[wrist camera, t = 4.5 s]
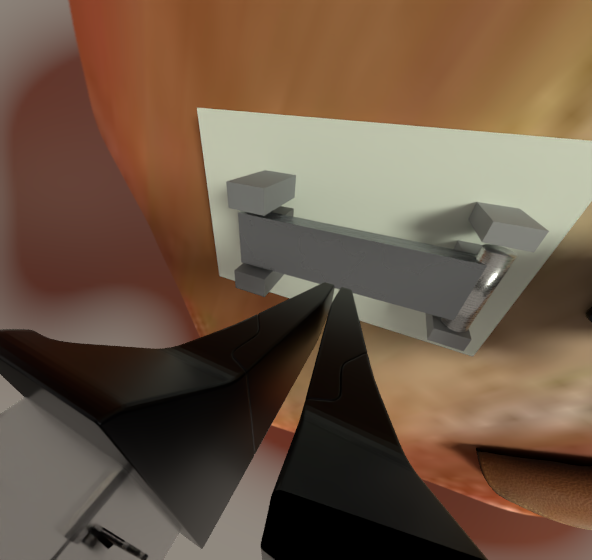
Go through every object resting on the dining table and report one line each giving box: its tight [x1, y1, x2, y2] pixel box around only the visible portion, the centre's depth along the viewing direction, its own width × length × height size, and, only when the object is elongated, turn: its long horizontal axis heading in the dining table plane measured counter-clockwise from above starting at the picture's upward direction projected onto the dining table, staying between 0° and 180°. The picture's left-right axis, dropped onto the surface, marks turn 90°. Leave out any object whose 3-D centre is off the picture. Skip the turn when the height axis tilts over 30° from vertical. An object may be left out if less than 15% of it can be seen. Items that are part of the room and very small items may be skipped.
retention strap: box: [238, 211, 517, 332], centre depth 14 cm, size 15×5×1 cm, turn 85°
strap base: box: [197, 108, 592, 356], centre depth 16 cm, size 23×14×6 cm, turn 85°
